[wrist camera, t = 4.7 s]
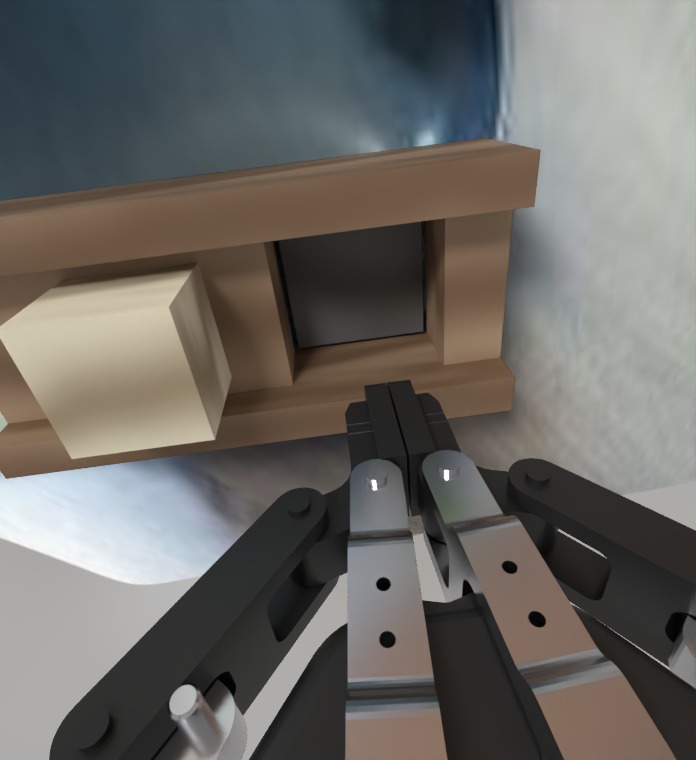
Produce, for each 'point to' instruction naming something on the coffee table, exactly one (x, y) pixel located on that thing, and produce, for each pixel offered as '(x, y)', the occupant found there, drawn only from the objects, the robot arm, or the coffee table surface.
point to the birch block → (124, 360)
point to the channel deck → (293, 284)
